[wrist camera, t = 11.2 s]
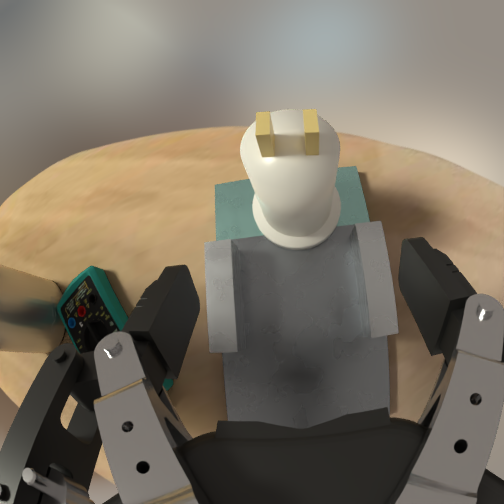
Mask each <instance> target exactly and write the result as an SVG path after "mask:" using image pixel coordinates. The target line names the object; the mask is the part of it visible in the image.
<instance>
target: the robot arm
mask: <svg viewBox="0 0 504 504" xmlns="http://www.w3.org/2000/svg"><path fill="white" fill-rule="evenodd" d="M399 287H400V290H401V293H402V295H403V296H404V298H405V300H406V302H407V304H408V306H409V308H410V310H411V313H412V315H413V317H414V319H415V321H416V323H417V325H418V327H419V329H420V332H421V334H422V336H423V338H424V341H425V343H426V345H427V347H428V350H429V352H430V354H431V356H433V355H437V354H441V353H443V355H444V357H445V358H444V360H443V363H442V365H441V368H440V371H439V374H438V377H437V380H436V382H435V385H434V388H433V390H432V393H431V395H430V398H429V400H428V403H427V405H426V407H425V409H424V411H423V413H422V415H421V417H420V419H419V421H418V423H416V422H414V421H410V420H406V419H401V418H390V417H389V412H388V407H385V408H380V409H375V410H369V411H364V412H358V413H352V414H346V415H343V416H341V417H338V418H335V419H333V420H330V421H327V422H324V423H321V424H318V425H315V426H312V427H308V428H304V429H298V428H292V427H286V426H280V425H275V424H270V423H265V422H260V421H218V423H217V429H216V431H214V432H210V433H206V434H203V435H200V436H198V437H195V438H192V437H191V435H190V434H189V433H188V431H187V430H186V428H185V426H184V425H183V423H182V421H181V419H180V417H179V415H178V413H177V412H176V410H175V408H174V406H173V404H172V402H171V400H170V398H169V396H168V394H167V391H166V389H165V388H164V386H163V383H164V380H165V379H177V378H178V375H179V372H180V369H181V366H182V363H183V360H184V357H185V354H186V351H187V348H188V344H189V341H190V338H191V335H192V332H193V329H194V327H195V324H196V321H197V318H198V315H199V311H200V302H199V297H198V294H197V292H196V289H195V286H194V283H193V280H192V278H191V275H190V272H189V269H188V267H187V266H186V265H176V266H167V267H165V269H164V270H163V272H162V274H161V275H160V277H159V279H158V280H155V281H154V282H153V283H152V284H151V285H150V286H149V287H147V288H146V290H145V291H144V293H143V295H142V296H141V300H139V301H138V303H137V305H136V307H135V308H134V310H133V311H132V313H131V315H130V316H129V318H128V320H127V322H126V323H125V325H124V327H123V329H122V330H121V332H114V333H111V334H109V335H107V336H106V337H104V338H103V339H102V340H101V341H100V342H99V343H98V344H97V346H96V348H95V351H91V352H86V353H81V354H80V353H79V352H78V350H77V349H76V348H75V346H74V345H73V344H70V343H65V344H62V345H60V343H61V341H62V338H63V335H64V331H65V326H64V324H63V322H62V320H61V318H60V315H59V313H58V311H57V305H58V303H59V301H60V299H61V297H62V293H61V291H60V289H59V287H58V286H57V285H56V283H54V282H53V281H51V280H48V279H44V278H41V277H38V276H34V275H31V274H28V273H25V272H22V271H18V270H15V269H12V268H9V267H6V266H3V265H0V351H8V352H25V353H50V352H51V353H50V354H49V356H48V357H47V359H46V360H45V362H44V364H43V366H42V367H41V369H40V371H39V373H38V374H37V376H36V378H35V380H34V381H33V383H32V385H31V387H30V389H29V391H28V393H27V395H26V396H25V398H24V400H23V402H22V404H21V406H20V408H19V410H18V413H17V415H16V417H15V419H14V421H13V423H12V425H11V427H10V430H9V432H8V434H7V437H6V439H5V441H4V444H3V446H2V449H1V451H0V504H95V503H94V502H93V501H92V500H90V497H89V494H88V490H89V486H90V482H91V479H92V475H93V472H94V468H95V465H96V461H97V458H98V455H99V452H100V448H101V445H102V443H103V446H104V450H105V453H106V457H107V460H108V463H109V466H110V470H111V473H112V476H113V479H114V481H115V484H116V487H117V490H118V492H119V493H118V494H116V495H115V496H113V497H112V498H110V499H109V500H107V501H106V502H104V503H103V504H504V480H502V479H501V478H499V477H498V476H496V475H495V474H493V473H491V472H490V471H489V470H487V469H486V465H487V462H488V459H489V456H490V453H491V450H492V447H493V444H494V440H495V437H496V433H497V429H498V425H499V421H500V416H501V412H502V407H503V402H504V309H503V307H502V305H501V304H500V303H499V302H498V301H497V300H496V299H495V298H493V297H491V296H489V295H486V294H477V293H476V291H475V290H474V289H473V287H472V286H471V285H470V283H469V282H468V281H467V280H466V278H465V277H464V276H463V275H462V273H461V272H459V270H458V268H457V267H456V266H455V265H453V262H452V261H451V260H450V259H449V258H448V256H447V255H446V254H444V253H442V252H441V251H439V250H437V249H433V248H432V247H431V246H430V245H429V243H428V242H427V241H426V240H425V239H424V238H423V237H418V238H410V239H404V240H403V242H402V247H401V258H400V267H399ZM59 345H60V346H59ZM69 395H71V396H72V397H73V398H74V399H75V400H76V401H77V402H78V404H77V406H76V409H75V411H74V413H73V416H72V418H71V421H70V423H69V426H68V428H67V430H66V429H65V428H64V427H63V426H62V424H61V419H60V417H61V413H62V410H63V408H64V406H65V404H66V401H67V399H68V397H69Z"/></svg>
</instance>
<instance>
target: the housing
mask: <svg viewBox="0 0 504 504" xmlns="http://www.w3.org/2000/svg"><path fill="white" fill-rule="evenodd" d="M335 187H336V189H337V191H338V193H339V196H340V201H341V211H340V216H339V220H338V223H337V226H336V228H335V230H334V231H333V233H332V234H331V235H330V236H329V237H328V238H327V239H326V240H325V241H324V242H322V243H321V244H319V245H317V246H315V247H312V248H310V249H305V250H289V249H285V248H281V247H279V246H277V245H275V244H273V243H272V242H270V241H269V240H268V239H267V238H266V237H265V236H264V235H263V234H262V233H261V231H260V230H259V228H258V225H257V223H256V221H255V219H254V216H253V208H252V204H253V198H254V194H255V192H254V189H253V187H252V184H251V182H250V179H246V180H240V181H234V182H228V183H222V184H217V185H215V215H216V241H212V242H205V276H206V300H207V320H208V337H209V352H210V353H222V357H223V370H224V383H225V395H226V406H227V416H228V421H260V422H265V423H270V424H275V425H280V426H286V427H292V428H298V429H304V428H308V427H312V426H315V425H318V424H321V423H324V422H327V421H330V420H333V419H335V418H338V417H341V416H343V415H346V414H352V413H358V412H364V411H369V410H375V409H380V408H385V407H388V412H389V416H390V383H389V358H388V343H387V335H392V334H397V333H399V332H398V321H397V312H396V303H395V295H394V288H393V281H392V275H391V269H390V263H389V257H388V252H387V246H386V241H385V237H384V232H383V227H382V223H381V221H374V222H370V220H369V215H368V211H367V206H366V202H365V198H364V194H363V190H362V186H361V182H360V178H359V175H358V171H357V168H356V166H352V167H341V168H338V169H337V175H336V182H335Z"/></svg>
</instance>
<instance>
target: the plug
mask: <svg viewBox="0 0 504 504" xmlns="http://www.w3.org/2000/svg"><path fill="white" fill-rule="evenodd" d="M240 154H241V159H242V161H243V164H244V167H245V169H246V172H247V174H248V177H249V179H250V182H251V184H252V187H253V189H254V192H255V194H254V198H253V204H252V208H253V216H254V219H255V221H256V223H257V225H258V228H259V230H260V231H261V233H262V234H263V235H264V236H265V237H266V238H267V239H268V240H269V241H270V242H272V243H273V244H275V245H277V246H279V247H281V248H285V249H289V250H305V249H310V248H312V247H315V246H317V245H319V244H321V243H322V242H324V241H325V240H326V239H327V238H328V237H329V236H330V235H331V234H332V233H333V231H334V230H335V228H336V226H337V223H338V220H339V216H340V211H341V201H340V196H339V193H338V191H337V189H336V187H335V182H336V175H337V169H338V162H339V155H340V142H339V138H338V136H337V133H336V132H335V130H334V129H333V127H332V126H331V125H330V124H329V123H328V122H327V121H326V120H324V119H323V118H321V117H320V116H318V115H317V111H316V109H311V110H310V109H307V110H296V109H287V110H279V111H275V112H272V113H270V112H257V113H256V121H255V122H254V123H253V124H252V125H251V126H250V127H249V128H248V129H247V131H246V132H245V134H244V136H243V138H242V141H241V146H240Z"/></svg>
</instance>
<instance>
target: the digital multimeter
mask: <svg viewBox="0 0 504 504" xmlns="http://www.w3.org/2000/svg"><path fill="white" fill-rule="evenodd" d="M105 305H106V306H105ZM57 311H58V313H59V315H60V318H61V320H62V322H63V324H64V326H65V328H66V330H67V332H68V334H69V336H70V338H71V340H72V342H73V344H74V346H75V348H76V349H77V350H78V352H79V353H80V354H81V353H86V352H91V351H95V348H96V346H97V344H98V343H99V342H100V341H101V340H102V339H103V338H104V337H106V336H107V335H109V334H111V333H114V332H121V330H122V329H123V327H124V325H125V323H126V322H127V320H128V317H127V315H126V313H125V311H124V310H123V308H122V306H121V304H120V302H119V300H118V299H117V297H116V295H115V293H114V291H113V289H112V287H111V285H110V283H109V281H108V279H107V276H106V274H105V272H104V270H103V269H100V268H97V267H94V266H90V267H88V268H87V269H85V270H84V271H83V272H81V273H80V274H79V275H78V276H77V277H76V278H74V280H73V281H72V282H71V283H70V284H69V286H68V287H67V289H66V290H65V292H64V294H63V295H62V297H61V299H60V301H59V303H58V305H57ZM109 312H110V313H109ZM110 314H111V315H110ZM98 319H99V320H98ZM113 319H114V320H113ZM102 321H103V322H102ZM114 321H115V322H114ZM117 326H118V327H117ZM118 328H119V329H118ZM172 385H173V380H172V379H165V380H164V383H163V386H164V388H165V389H166V391H167V390H168V389H169V388H170V387H172Z"/></svg>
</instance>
